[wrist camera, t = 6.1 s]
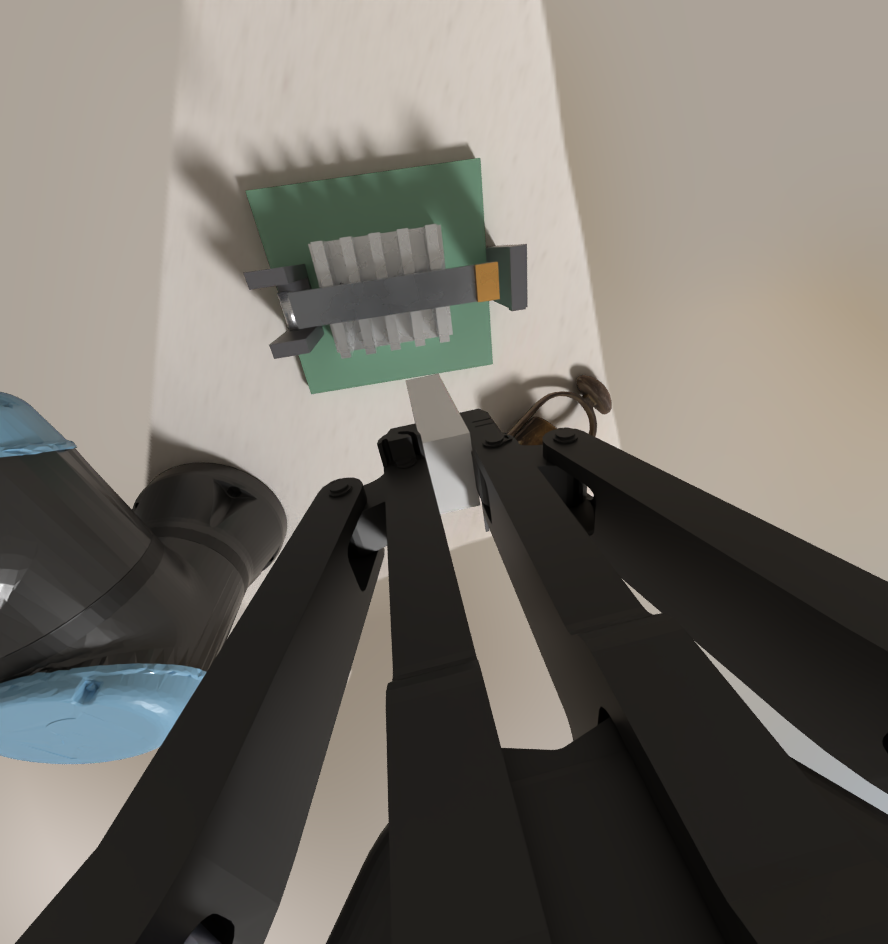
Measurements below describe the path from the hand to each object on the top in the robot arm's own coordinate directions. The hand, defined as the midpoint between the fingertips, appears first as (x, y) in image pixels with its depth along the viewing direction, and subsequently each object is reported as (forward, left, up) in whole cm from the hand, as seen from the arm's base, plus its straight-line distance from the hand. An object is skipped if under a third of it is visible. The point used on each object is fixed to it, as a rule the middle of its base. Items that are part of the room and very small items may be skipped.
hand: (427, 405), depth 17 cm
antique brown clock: (+14, -13, -22) cm, 29 cm away
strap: (-1, +3, -14) cm, 15 cm away
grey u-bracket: (-9, +3, -20) cm, 22 cm away
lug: (+8, +3, -21) cm, 23 cm away
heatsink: (-1, +3, -20) cm, 21 cm away
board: (-1, +3, -21) cm, 22 cm away
